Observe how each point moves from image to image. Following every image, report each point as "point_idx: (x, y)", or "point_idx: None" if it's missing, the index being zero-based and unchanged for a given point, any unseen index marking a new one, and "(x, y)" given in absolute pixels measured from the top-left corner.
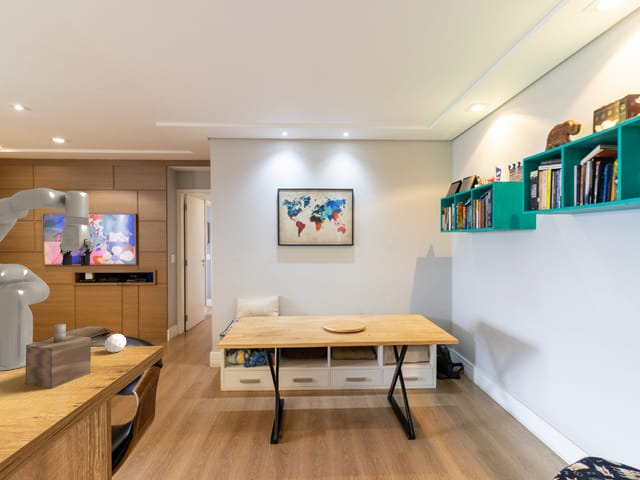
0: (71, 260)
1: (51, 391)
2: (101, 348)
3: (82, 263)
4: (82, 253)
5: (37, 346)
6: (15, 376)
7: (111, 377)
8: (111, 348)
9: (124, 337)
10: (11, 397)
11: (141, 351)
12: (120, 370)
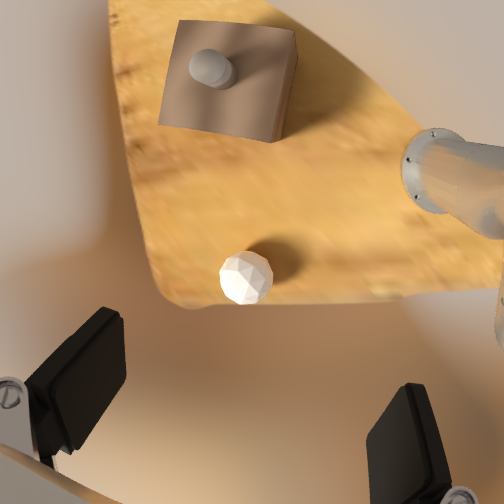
0: (371, 472)
1: None
2: (311, 291)
3: (92, 325)
4: (12, 407)
5: (242, 24)
6: (366, 95)
7: (133, 113)
8: (240, 251)
9: (225, 293)
10: (257, 5)
11: (184, 270)
12: (142, 149)
